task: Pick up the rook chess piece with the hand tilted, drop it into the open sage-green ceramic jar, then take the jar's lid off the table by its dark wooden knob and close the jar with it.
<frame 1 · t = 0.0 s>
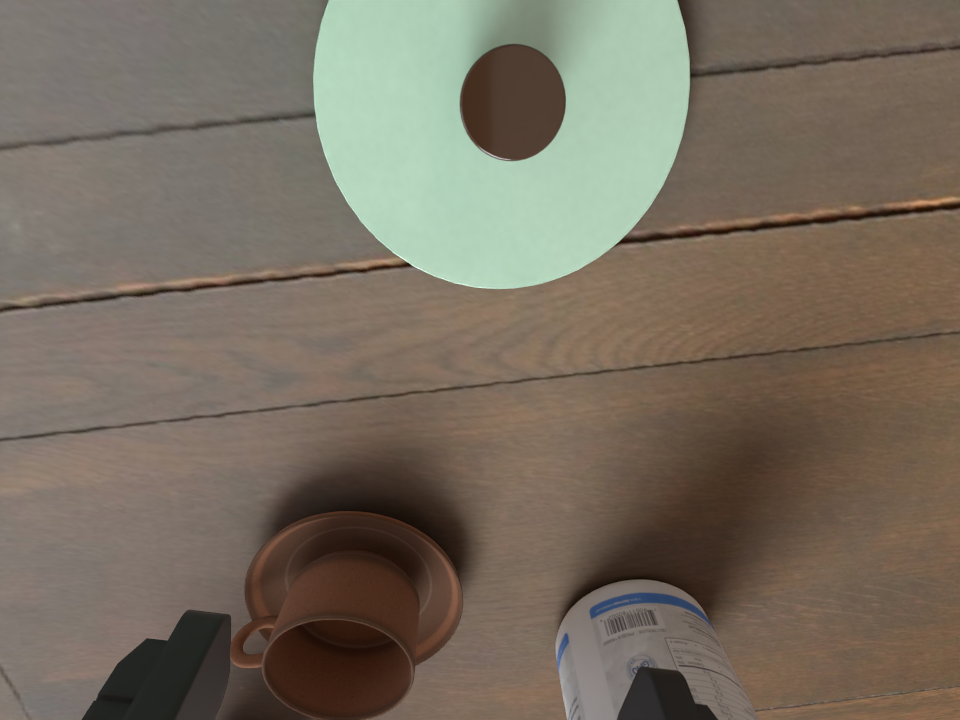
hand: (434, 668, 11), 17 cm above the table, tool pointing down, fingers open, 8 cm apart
jar lid: (501, 108, 22), point 1 cm above the table
cup and saucer: (361, 573, 32), on the table
supplement tub: (628, 626, 35), on the table
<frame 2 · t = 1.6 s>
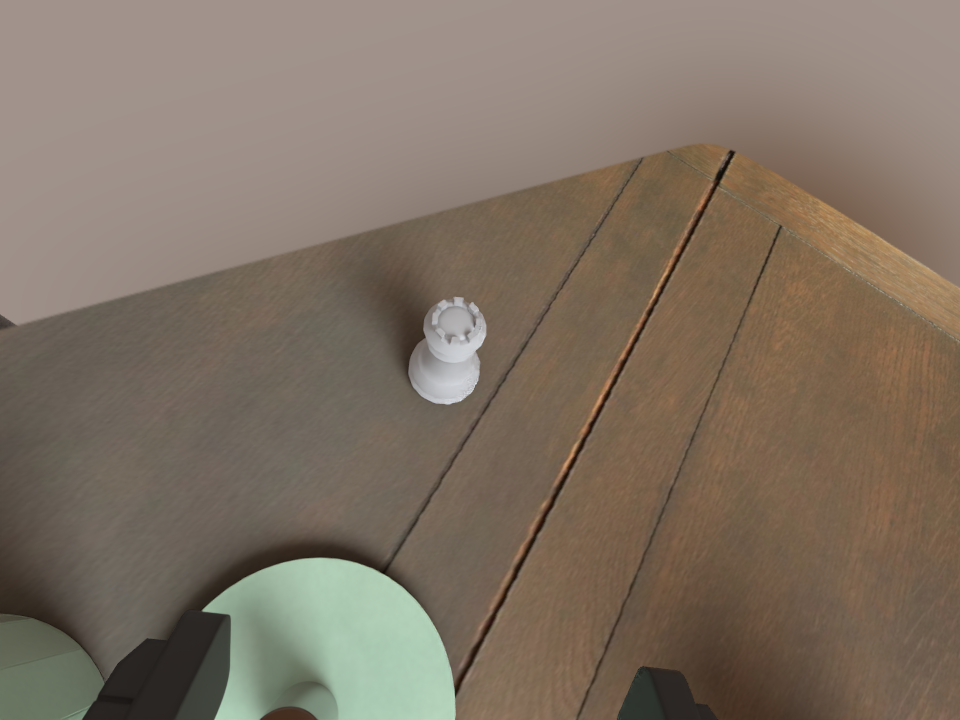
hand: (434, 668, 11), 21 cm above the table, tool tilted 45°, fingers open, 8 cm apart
jar lid: (305, 716, 27), point 1 cm above the table
rook chess piece: (443, 373, 35), on the table
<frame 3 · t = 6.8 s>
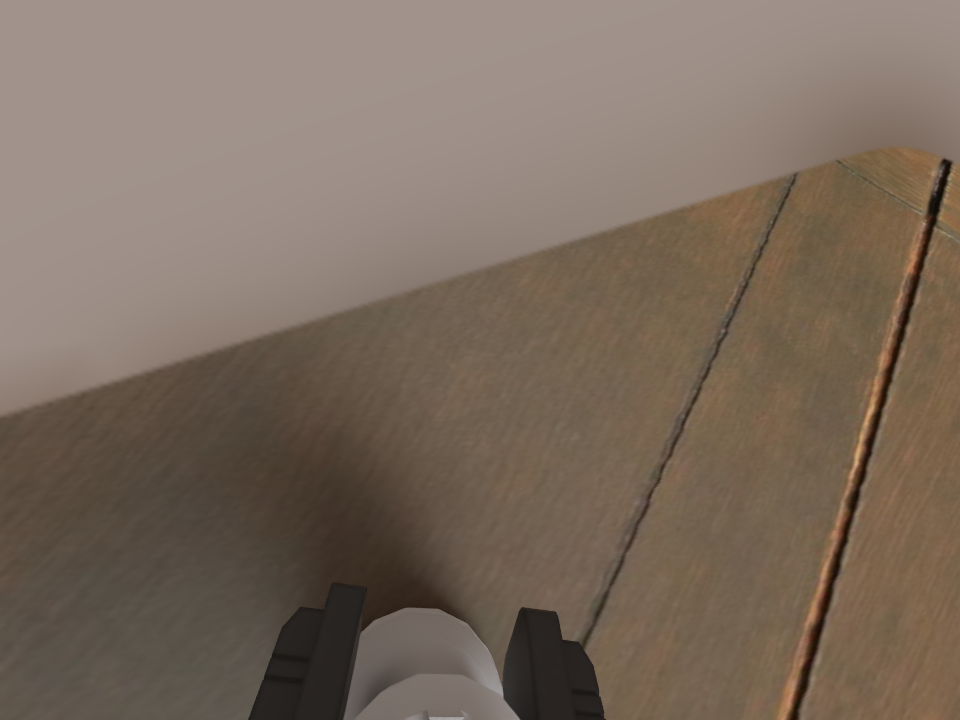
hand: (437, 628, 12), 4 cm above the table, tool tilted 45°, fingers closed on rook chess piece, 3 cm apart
rook chess piece: (414, 696, 15), on the table, touching gripper
when the fingers open (13 cm above the table, at t = 15.5 s): rook chess piece drops 8 cm, resting on jar.
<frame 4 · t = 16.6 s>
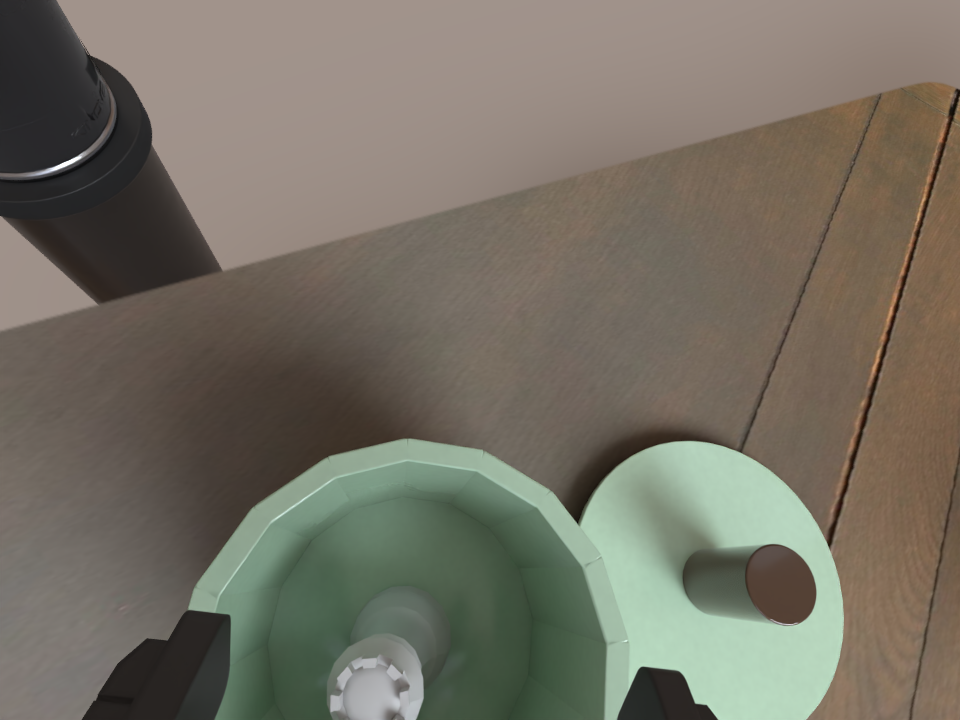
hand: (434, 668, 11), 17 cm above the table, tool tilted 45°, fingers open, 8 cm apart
jar: (405, 629, 26), on the table
jar lid: (706, 581, 29), point 1 cm above the table
rook chess piece: (403, 634, 25), point 1 cm above the table, touching jar
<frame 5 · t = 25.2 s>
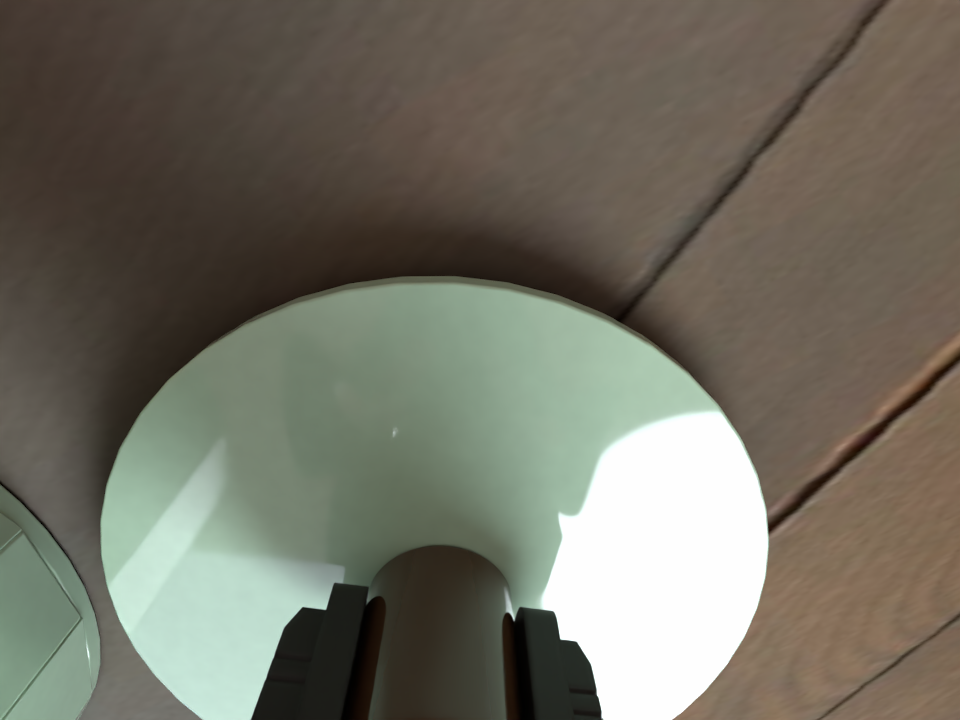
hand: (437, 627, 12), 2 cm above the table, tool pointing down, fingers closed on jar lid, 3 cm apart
jar lid: (441, 581, 13), point 1 cm above the table, touching gripper
when the fingers open (12 cm above the table, at t = 31.0 s): jar lid stays where it is, resting on jar.
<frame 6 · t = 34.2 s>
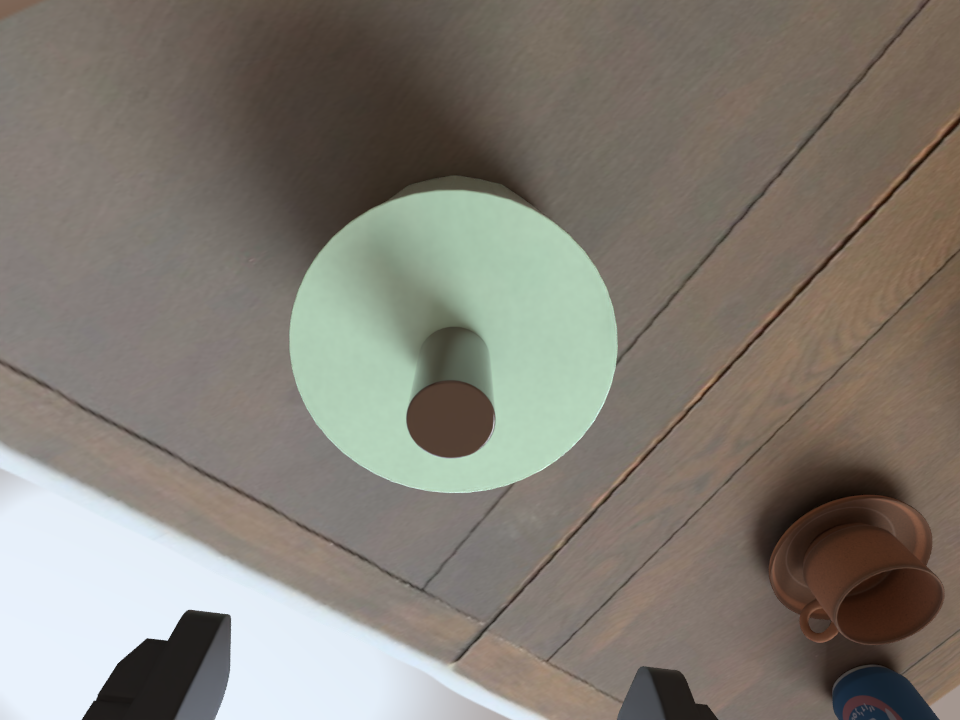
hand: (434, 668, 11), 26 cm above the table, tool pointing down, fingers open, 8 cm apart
jar: (457, 289, 35), on the table
jar lid: (454, 355, 25), point 10 cm above the table, touching jar
soda can: (861, 683, 51), on the table
cup and saucer: (833, 542, 44), on the table
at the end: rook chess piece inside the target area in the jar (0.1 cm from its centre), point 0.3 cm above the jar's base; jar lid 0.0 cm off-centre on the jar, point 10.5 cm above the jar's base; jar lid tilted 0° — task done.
